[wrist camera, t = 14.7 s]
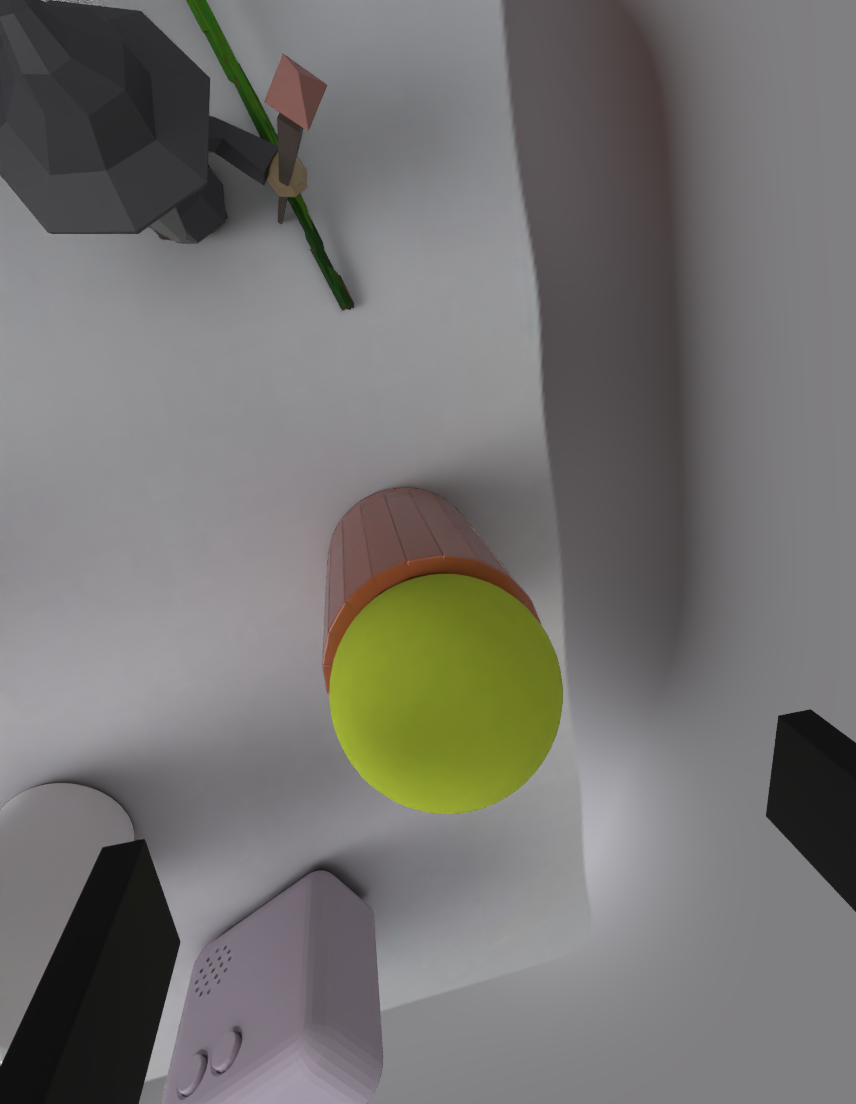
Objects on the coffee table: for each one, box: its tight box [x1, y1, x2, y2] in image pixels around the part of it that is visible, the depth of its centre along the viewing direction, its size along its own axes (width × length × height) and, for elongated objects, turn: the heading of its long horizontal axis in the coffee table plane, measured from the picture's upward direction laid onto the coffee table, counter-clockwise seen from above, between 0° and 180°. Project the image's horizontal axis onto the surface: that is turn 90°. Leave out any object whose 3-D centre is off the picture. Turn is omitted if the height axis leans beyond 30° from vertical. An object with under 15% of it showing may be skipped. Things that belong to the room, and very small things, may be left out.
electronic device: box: [161, 871, 383, 1104], centre depth 29 cm, size 10×5×10 cm, turn 126°
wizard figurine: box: [0, 0, 327, 243], centre depth 16 cm, size 8×6×12 cm
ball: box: [329, 574, 563, 814], centre depth 17 cm, size 7×7×7 cm
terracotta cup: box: [322, 487, 541, 694], centre depth 23 cm, size 7×7×10 cm
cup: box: [0, 783, 134, 1066], centre depth 24 cm, size 9×9×12 cm
